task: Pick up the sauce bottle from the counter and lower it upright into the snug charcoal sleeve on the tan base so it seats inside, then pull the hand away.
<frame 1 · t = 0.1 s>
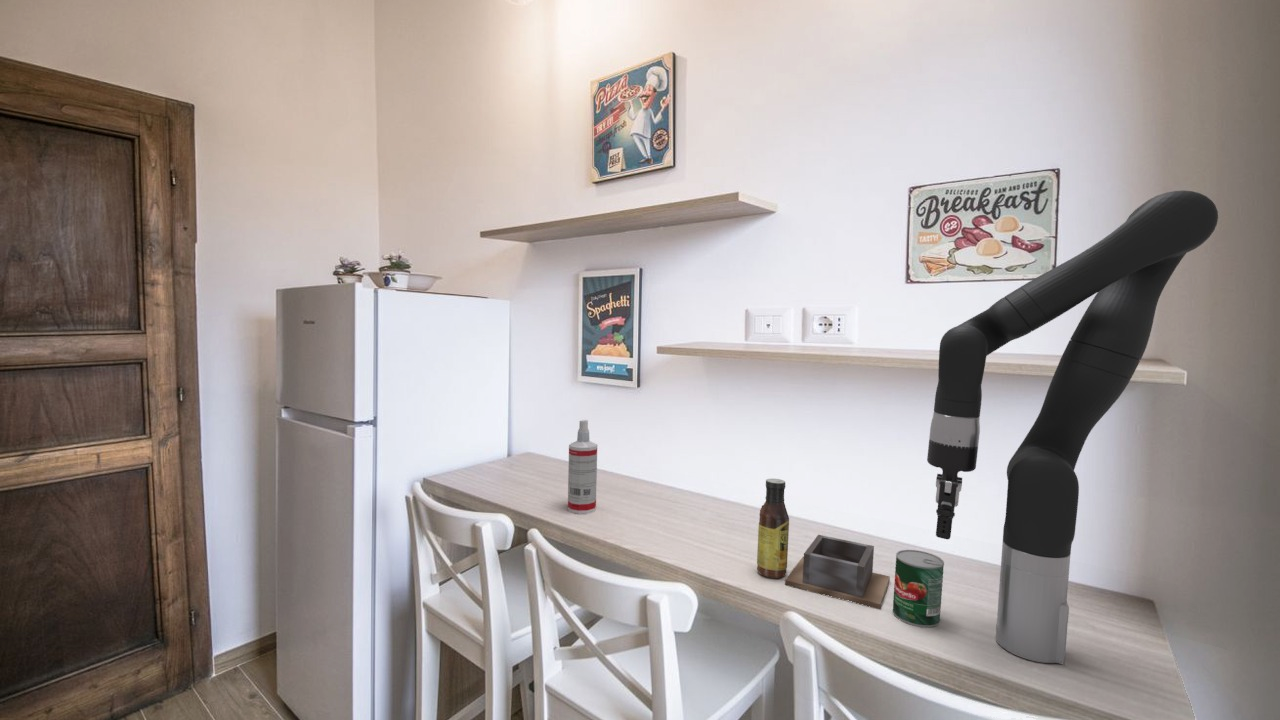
hand: (943, 530, 101), 17 cm above the breakfast bar, tool pointing down, fingers open, 8 cm apart
canned tomato: (915, 617, 105), on the breakfast bar
spray bottle: (581, 510, 159), on the breakfast bar
sauce bottle: (771, 573, 121), on the breakfast bar
bottle holder: (837, 582, 117), on the breakfast bar
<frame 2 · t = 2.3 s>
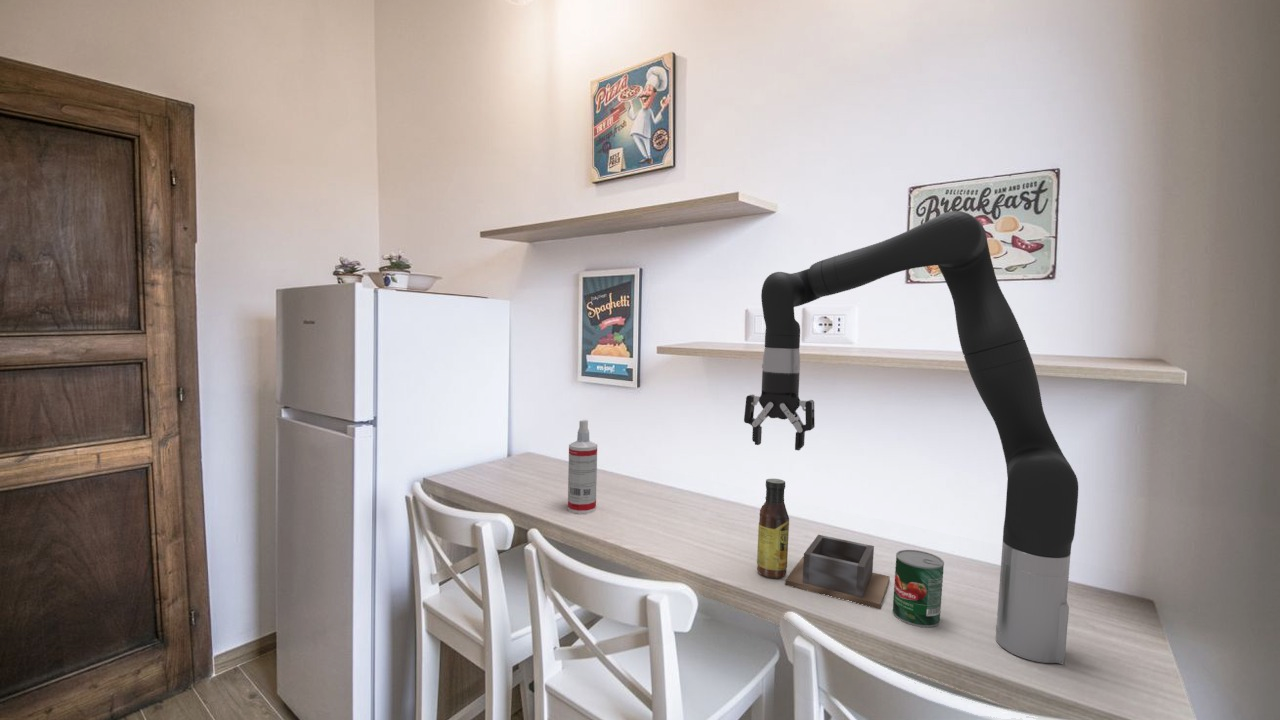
hand: (777, 446, 119), 27 cm above the breakfast bar, tool pointing down, fingers open, 8 cm apart
nothing on the breakfast bar moved.
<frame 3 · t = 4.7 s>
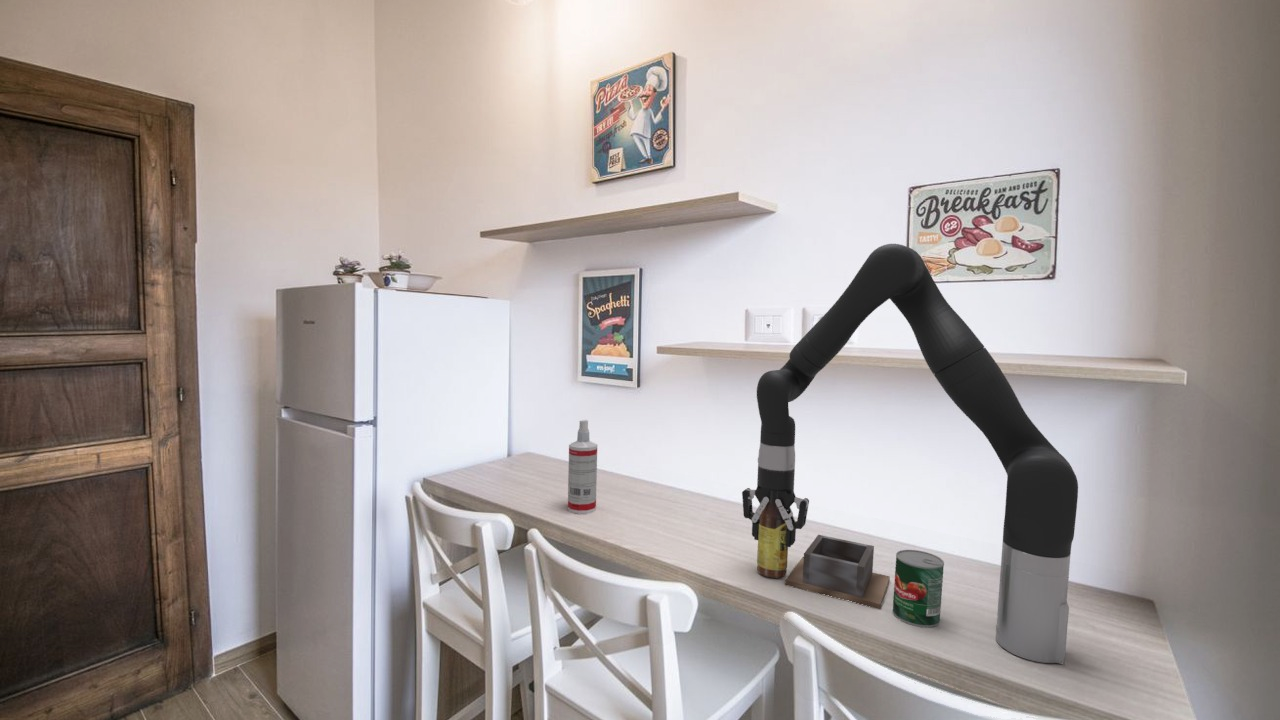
hand: (772, 542, 121), 7 cm above the breakfast bar, tool pointing down, fingers closed on sauce bottle, 6 cm apart
sauce bottle: (771, 573, 121), on the breakfast bar, touching gripper
everything else where it was.
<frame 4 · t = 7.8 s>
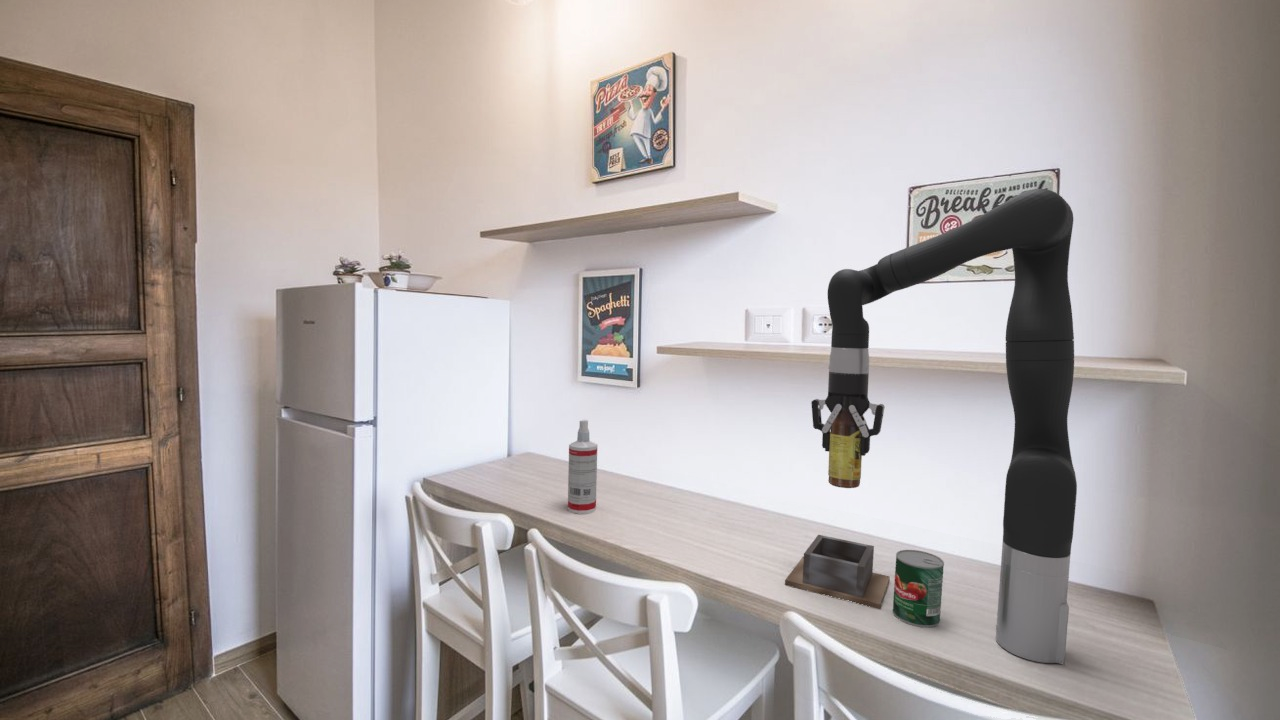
hand: (845, 452, 115), 27 cm above the breakfast bar, tool pointing down, fingers closed on sauce bottle, 6 cm apart
sauce bottle: (843, 486, 116), point 20 cm above the breakfast bar, touching gripper
everything else where it was.
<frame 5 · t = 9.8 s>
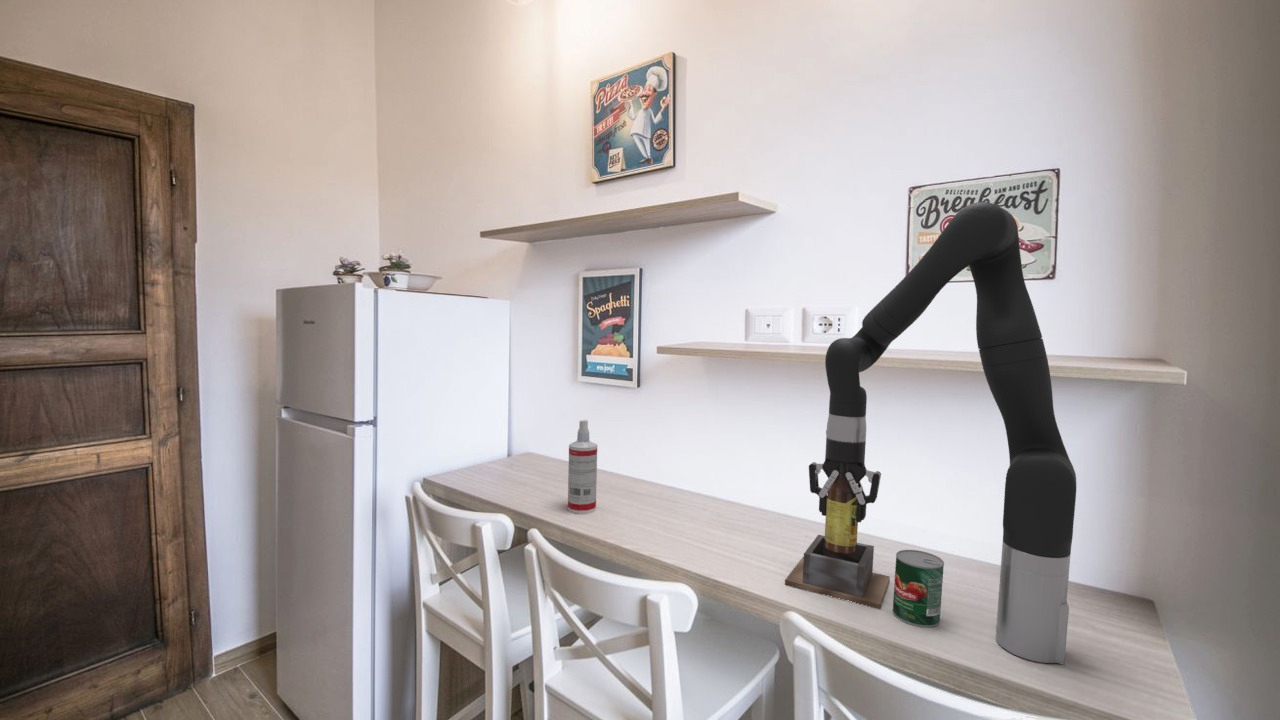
hand: (841, 517, 116), 14 cm above the breakfast bar, tool pointing down, fingers closed on sauce bottle, 6 cm apart
sauce bottle: (839, 550, 117), point 7 cm above the breakfast bar, touching gripper
everything else where it was.
when the fingers open (9 cm above the breakfast bar, at t = 11.3 s): sauce bottle drops 1 cm, resting on bottle holder.
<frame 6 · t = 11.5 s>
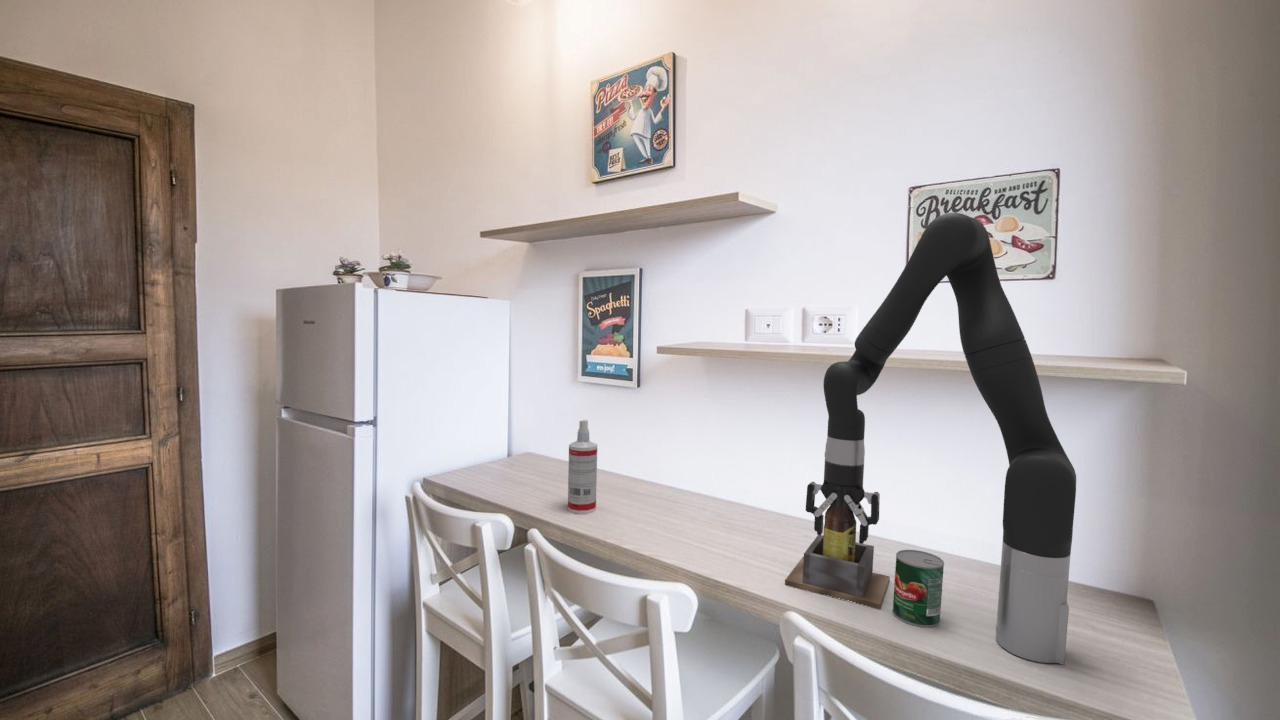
hand: (840, 537, 117), 9 cm above the breakfast bar, tool pointing down, fingers open, 8 cm apart
sauce bottle: (837, 578, 117), point 1 cm above the breakfast bar, touching bottle holder
everything else where it was.
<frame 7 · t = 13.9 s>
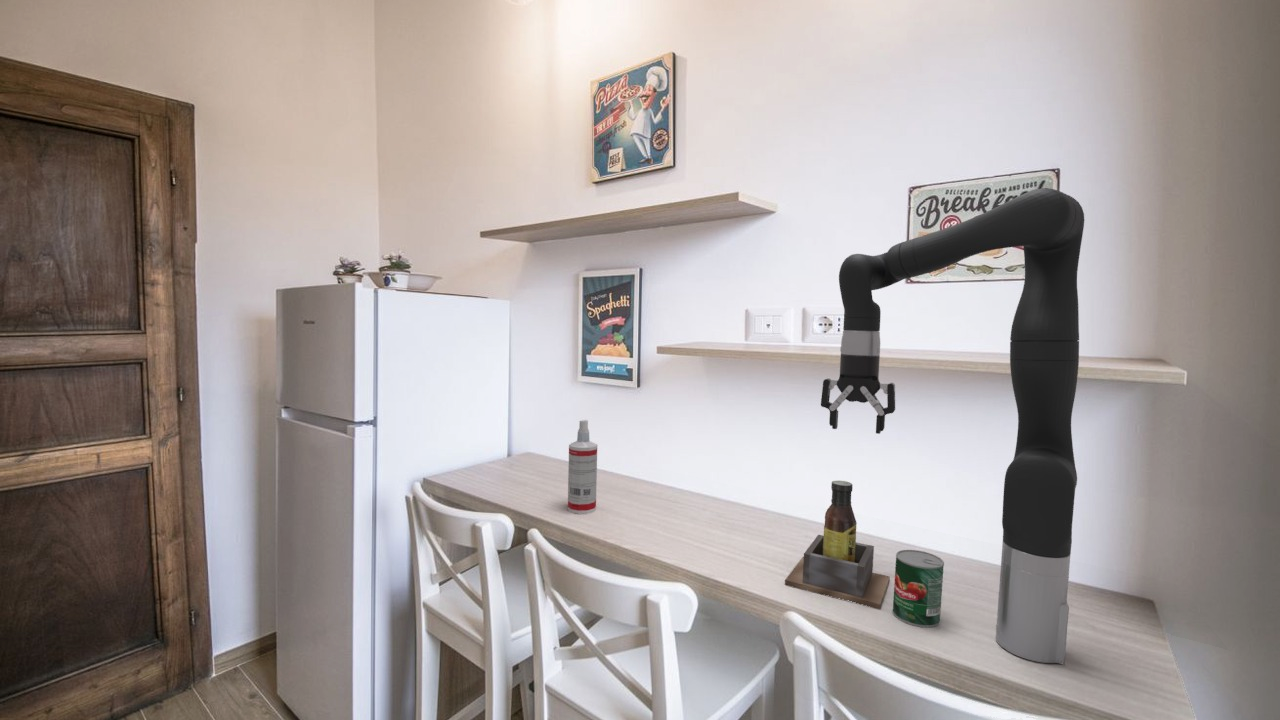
hand: (856, 430, 119), 31 cm above the breakfast bar, tool pointing down, fingers open, 8 cm apart
nothing on the breakfast bar moved.
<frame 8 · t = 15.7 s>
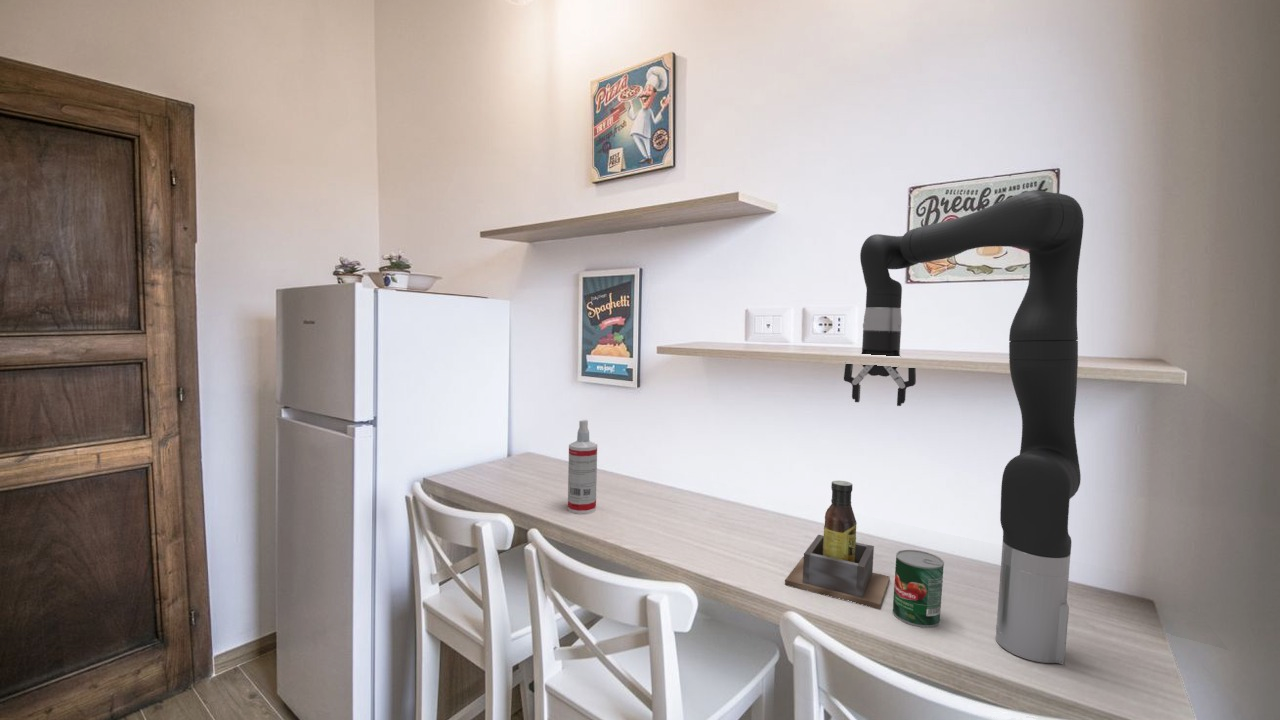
hand: (877, 403, 124), 36 cm above the breakfast bar, tool pointing down, fingers open, 8 cm apart
nothing on the breakfast bar moved.
at the end: sauce bottle 0.1 cm off-centre on the bottle holder, point 0.8 cm above the bottle holder's base; sauce bottle tilted 0°; the gripper is holding nothing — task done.
